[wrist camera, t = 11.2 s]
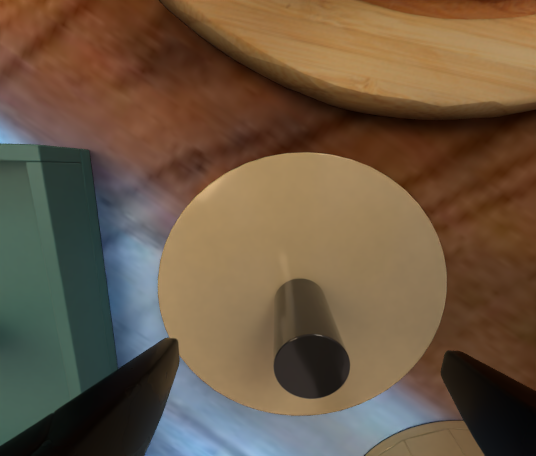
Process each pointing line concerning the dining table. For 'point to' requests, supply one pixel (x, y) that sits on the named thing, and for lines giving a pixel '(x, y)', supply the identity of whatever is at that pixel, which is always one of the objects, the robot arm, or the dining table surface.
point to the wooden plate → (383, 51)
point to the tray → (49, 284)
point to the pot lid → (302, 283)
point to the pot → (430, 441)
